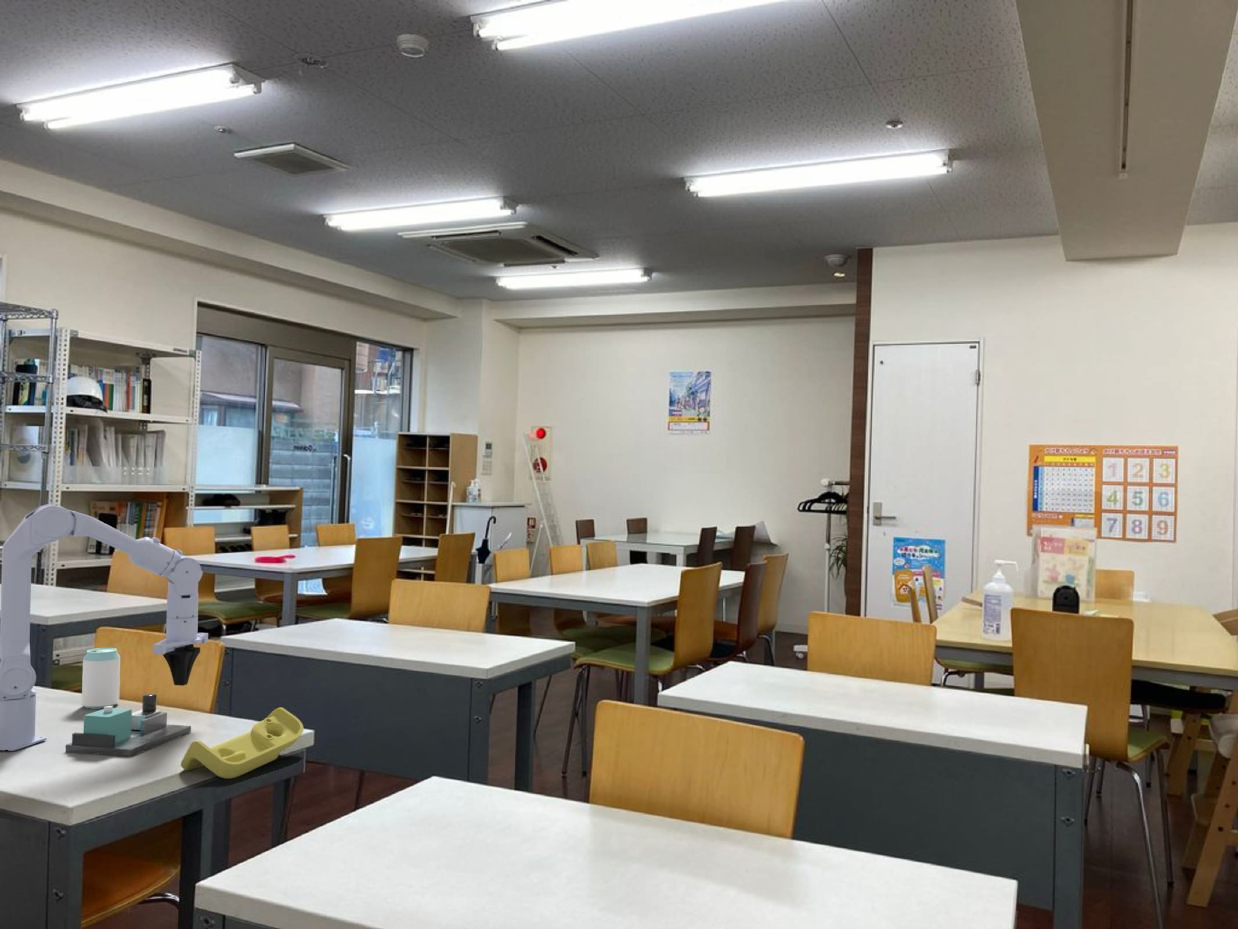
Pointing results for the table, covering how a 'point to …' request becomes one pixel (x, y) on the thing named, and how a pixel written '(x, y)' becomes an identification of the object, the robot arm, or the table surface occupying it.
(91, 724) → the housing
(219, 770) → the plastic component
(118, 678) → the can
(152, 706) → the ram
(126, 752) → the press bed
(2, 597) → the robot arm
